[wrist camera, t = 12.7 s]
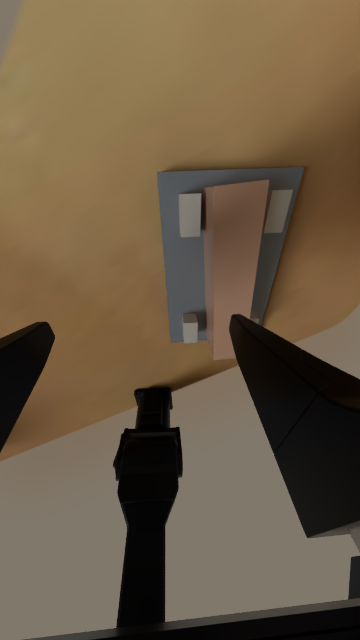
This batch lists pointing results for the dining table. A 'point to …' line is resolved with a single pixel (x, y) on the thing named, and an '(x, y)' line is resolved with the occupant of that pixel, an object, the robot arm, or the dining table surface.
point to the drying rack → (188, 240)
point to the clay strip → (230, 256)
